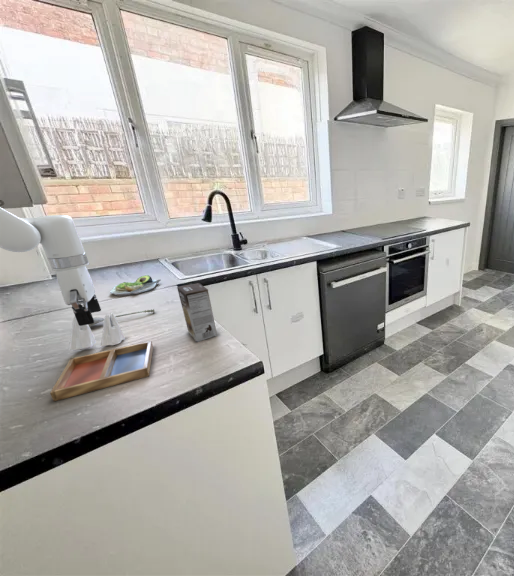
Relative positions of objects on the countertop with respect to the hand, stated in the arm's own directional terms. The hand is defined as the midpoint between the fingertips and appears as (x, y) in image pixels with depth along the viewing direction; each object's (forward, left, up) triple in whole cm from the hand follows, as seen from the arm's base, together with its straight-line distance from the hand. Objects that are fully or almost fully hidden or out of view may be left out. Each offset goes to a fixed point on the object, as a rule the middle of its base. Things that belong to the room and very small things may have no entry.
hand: (90, 317), depth 90 cm
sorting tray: (+5, -18, -10) cm, 21 cm away
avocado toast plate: (+4, +59, -10) cm, 60 cm away
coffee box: (+27, -8, -10) cm, 29 cm away
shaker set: (0, 0, -10) cm, 10 cm away
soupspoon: (+2, +20, -10) cm, 22 cm away
